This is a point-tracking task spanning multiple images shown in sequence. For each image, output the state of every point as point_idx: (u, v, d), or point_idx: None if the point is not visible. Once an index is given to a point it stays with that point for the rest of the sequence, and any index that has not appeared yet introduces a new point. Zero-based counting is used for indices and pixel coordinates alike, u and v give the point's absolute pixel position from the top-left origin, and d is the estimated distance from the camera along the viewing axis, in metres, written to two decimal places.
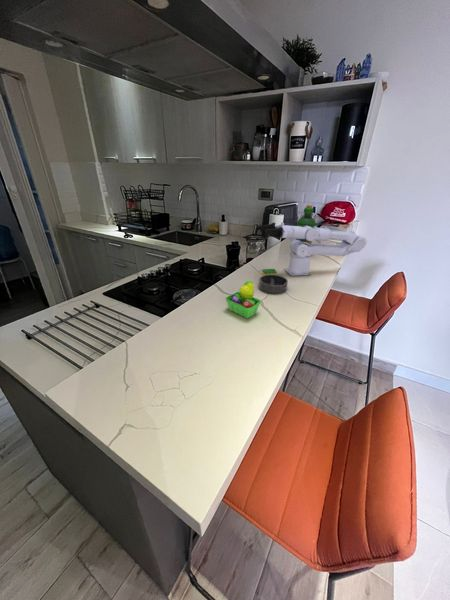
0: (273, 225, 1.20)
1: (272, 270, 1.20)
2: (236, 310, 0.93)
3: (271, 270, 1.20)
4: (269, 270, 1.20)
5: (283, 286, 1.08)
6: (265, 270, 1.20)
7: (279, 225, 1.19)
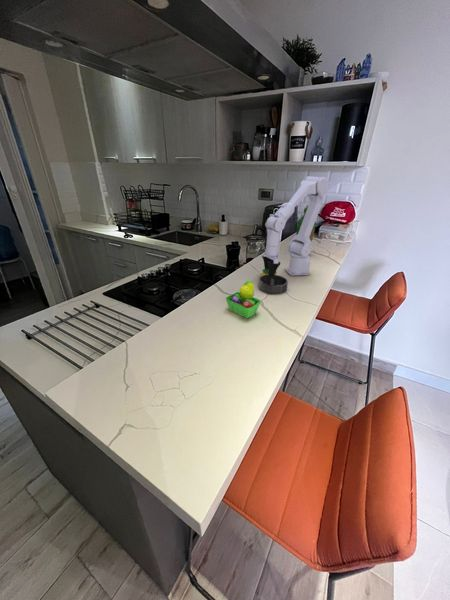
0: (265, 258, 1.20)
1: None
2: (236, 310, 0.93)
3: None
4: None
5: (283, 286, 1.08)
6: (265, 270, 1.20)
7: None
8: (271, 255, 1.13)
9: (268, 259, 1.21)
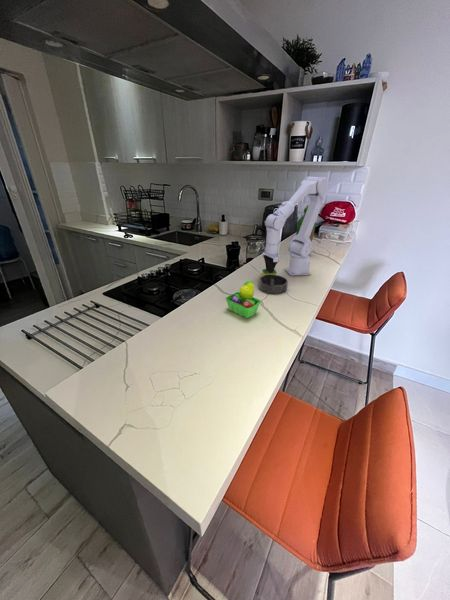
0: (266, 258, 1.18)
1: None
2: (236, 310, 0.93)
3: None
4: None
5: (283, 286, 1.08)
6: (265, 270, 1.20)
7: None
8: (271, 253, 1.13)
9: None
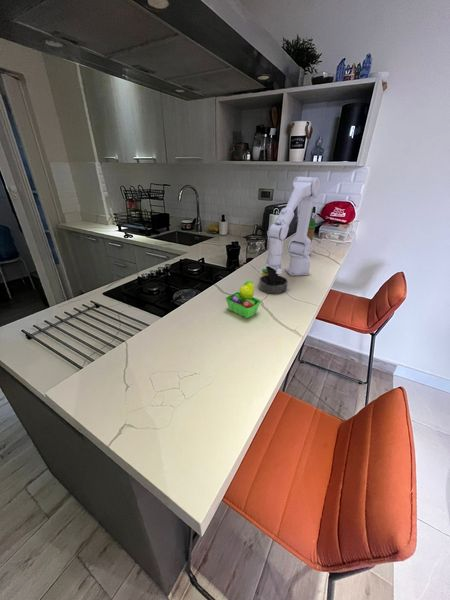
0: None
1: None
2: (236, 310, 0.93)
3: None
4: None
5: (283, 286, 1.08)
6: (265, 270, 1.20)
7: None
8: (273, 264, 1.07)
9: (273, 270, 1.12)
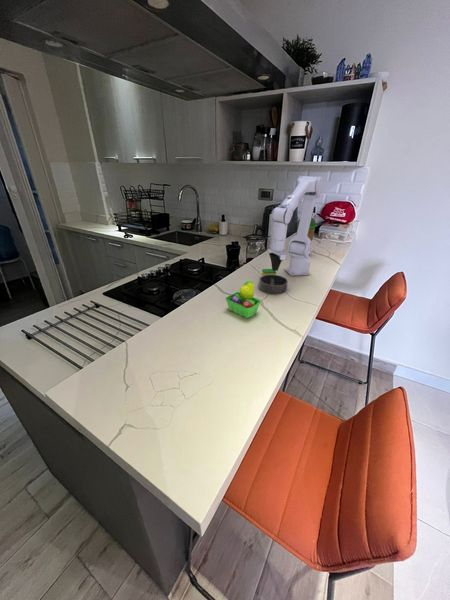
0: None
1: (272, 270, 1.20)
2: (236, 310, 0.93)
3: (271, 270, 1.20)
4: (269, 270, 1.20)
5: (283, 286, 1.08)
6: (265, 270, 1.20)
7: None
8: (277, 250, 1.03)
9: None
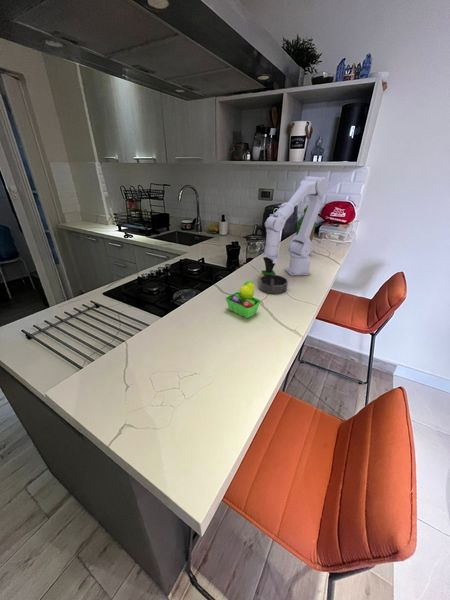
0: None
1: None
2: (236, 310, 0.93)
3: None
4: None
5: (283, 286, 1.08)
6: (264, 271, 1.20)
7: None
8: (270, 255, 1.13)
9: None
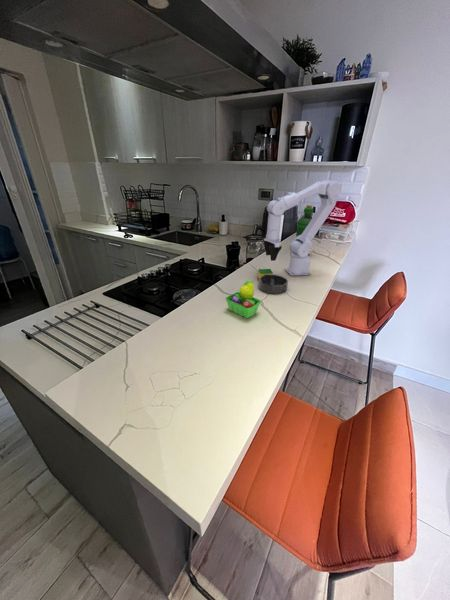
0: (266, 243, 1.23)
1: (268, 270, 1.20)
2: (236, 310, 0.93)
3: (267, 270, 1.20)
4: (265, 270, 1.20)
5: (283, 286, 1.08)
6: (261, 270, 1.20)
7: None
8: (272, 239, 1.16)
9: (269, 244, 1.23)
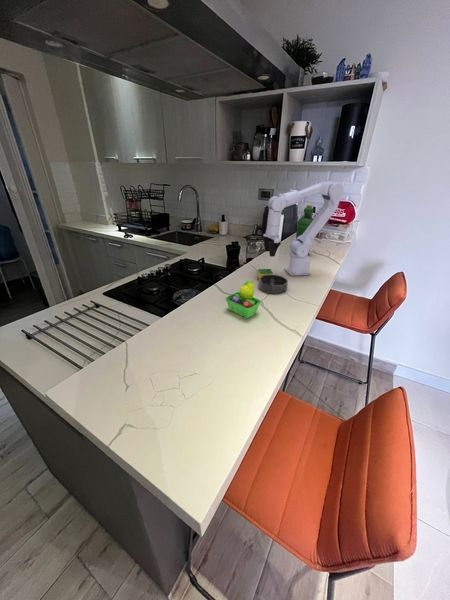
0: (265, 239, 1.23)
1: (268, 270, 1.20)
2: (236, 310, 0.93)
3: (267, 270, 1.20)
4: (265, 270, 1.20)
5: (283, 286, 1.08)
6: (261, 270, 1.20)
7: None
8: (272, 235, 1.16)
9: (268, 240, 1.24)
